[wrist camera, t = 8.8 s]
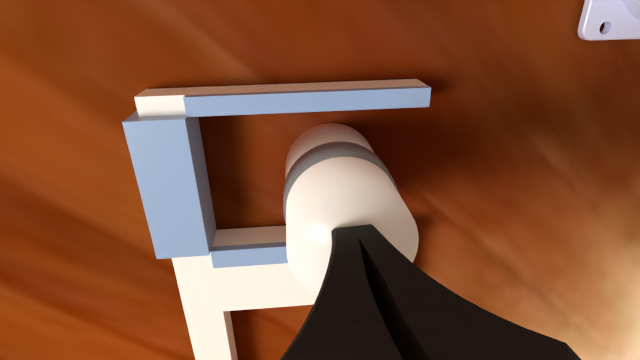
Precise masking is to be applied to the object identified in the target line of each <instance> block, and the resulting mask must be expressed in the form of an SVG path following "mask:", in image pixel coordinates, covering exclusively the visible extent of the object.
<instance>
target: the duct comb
mask: <svg viewBox="0 0 640 360" xmlns="http://www.w3.org/2000/svg"><path fill="white" fill-rule="evenodd" d="M430 95H431V87H429V86H428V85H426V84H424V83H423V82H421V81H419V80H418V79H401V80H374V81H347V82H320V83H293V84H266V85H240V86H213V87H186V88H159V89H146V90H144V91H143V92H141V93H140V94H138V95H137V96H135V97H134V98H135V102H136V107H137V111H136V112H135V113H133V114H132V115H131V116H129V117H128V118H127V119H125V120H124V121H123V122H122V124H123V127H124V131H125V135H126V139H127V143H128V147H129V151H130V155H131V159H132V163H133V167H134V171H135V175H136V179H137V183H138V186H139V190H140V194H141V198H142V202H143V206H144V210H145V214H146V218H147V222H148V226H149V230H150V234H151V238H152V242H153V245H154V249H155V253H156V257H157V259H164V258H172V261H173V265H174V270H175V274H176V278H177V283H178V287H179V291H180V296H181V300H182V304H183V308H184V313H185V317H186V321H187V326H188V330H189V334H190V338H191V343H192V347H193V351H194V356H195V360H238V357H237V351H236V345H235V339H234V333H233V327H232V321H231V314H230V311H235V310H248V309H260V308H273V307H286V306H299V305H312V304H314V303H315V301H316V298H317V296H318V294H316V293H314V292H312V291H310V290H309V289H307V288H306V287H304V286H303V285H302V284H301V283H300V282H299V281H298V280H297V278H296V277H295V276H294V274H293V273H292V271H291V269H290V266H289V264H288V259H287V250H286V225H285V226H269V227H253V228H237V229H221V230H217V229H216V223H215V216H214V210H213V204H212V198H211V192H210V186H209V180H208V174H207V167H206V161H205V155H204V149H203V143H202V137H201V131H200V125H199V118H198V117H202V116H225V115H249V114H272V113H296V112H319V111H343V110H366V109H389V108H413V107H429V104H430Z"/></svg>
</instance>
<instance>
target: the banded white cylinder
mask: <svg viewBox="0 0 640 360" xmlns="http://www.w3.org/2000/svg"><path fill="white" fill-rule="evenodd" d="M283 210H284V218H285V222H286V250H287V259H288V264H289V266H290V269H291V271H292V273H293V274H294V276H295V277H296V278H297V280H298V281H299V282H300V283H301V284H302V285H303V286H304V287H306V288H307V289H309V290H310V291H312V292H314V293H316V294H319V291H320V289H321V286H322V283H323V280H324V277H325V274H326V271H327V267H328V263H329V259H330V254H331V248H332V236H331V231H332V230H333V229H334V228H339V227H349V226H359V225H368V224H372V225H373V226H374V227H375V228H376V229H377V230H378V231H379V232H380V233H381V234H382V235H383V236H384V237H385V238H386V239H387V240H388V241H389V242H390V243H391V244H392V245H393V246H394V247H395V248H396V249H397V250H398V251H400V252H401V253H402V254H403V255H404V256H405V257H406V258H407V259H409V260H410V261H411V262H412V263H413V261H414V259H415V256H416V253H417V250H418V243H419V234H418V229H417V225H416V223H415V220H414V218H413V217H412V215H411V213H410V211H409V210H408V208H407V206H406V205H405V203H404V201H403V200H402V198H401V196H400V195H399V193H398V189H397V186H396V183H395V182H394V180H393V178H392V176H391V175H390V173H389V171H388V170H387V168H386V166H385V165H384V163H383V162H382V161H381V159H380V158H379V157H378V156H377V155H376V154H375V153H374V151H373V150H372V148H371V146H370V145H369V143H368V141H367V140H366V139H365V137H364V136H363V135H362V134H361V133H359V132H358V131H357V130H355V129H353V128H352V127H349V126H347V125H343V124H339V123H325V124H320V125H316V126H314V127H311V128H309V129H308V130H306V131H304V132H303V133H302V134H300V135H299V136H298V137H297V138H296V139H295V141H294V142H293V143H292V145H291V147H290V149H289V151H288V154H287V158H286V179H285V183H284V191H283Z"/></svg>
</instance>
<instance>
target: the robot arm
mask: <svg viewBox="0 0 640 360" xmlns="http://www.w3.org/2000/svg"><path fill="white" fill-rule="evenodd" d="M603 23H604V24H605V25H604V29H603V31H601V32H600V26H601V25H602V24H603ZM578 35H579V37H580V38H581V39H584V40H619V39H640V0H585V3H584V7H583V11H582V14H581V18H580V22H579V26H578ZM331 236H332V248H331V254H330V259H329V263H328V267H327V271H326V274H325V277H324V280H323V283H322V286H321V289H320V291H319V294H318V296H317V298H316V301H315V303H314V305H313V307H312V309H311V311H310V313H309V315H308V317H307V319H306V321H305V323H304V324H303V326H302V328H301V330H300V331H299V333H298V334H297V336H296V337H295V339H294V340H293V342H292V343H291V345H290V346H289V348H288V349H287V351H286V352H285V354H284V355H283V357H282V358H281V359H280V360H581V359H580V358H579V357H578V356H577V355H576V353H575V352H574V351H573V350H572V349H571V348H570V347H569V346H568V345H567V344H566V343H564V342H561V341H559V340H556V339H553V338H551V337H548V336H545V335H542V334H540V333H537V332H534V331H532V330H529V329H526V328H524V327H521V326H519V325H517V324H514V323H512V322H510V321H508V320H505V319H503V318H501V317H499V316H496V315H494V314H492V313H490V312H488V311H486V310H484V309H482V308H480V307H478V306H477V305H475V304H473V303H471V302H469V301H467V300H466V299H464V298H462V297H460V296H459V295H457V294H455V293H454V292H452V291H450V290H449V289H447V288H446V287H444V286H443V285H441V284H440V283H438V282H437V281H435V280H434V279H432V278H431V277H430V276H428V275H427V274H426V273H424V272H423V271H422V270H421V269H419V268H418V267H417V266H416V265H414V264H413V263H412V262H411V261H410V260H409V259H407V258H406V257H405V256H404V255H403V254H402V253H401V252H400V251H398V250H397V249H396V248H395V247H394V246H393V245H392V244H391V243H390V242H389V241H388V240H387V239H386V238H385V237H384V236H383V235H382V234H381V233H380V232H379V231H378V230H377V229H376V228H375V227H374V226H373V225H372V224H368V225H359V226H349V227H339V228H334V229H333V230H332V231H331Z"/></svg>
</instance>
